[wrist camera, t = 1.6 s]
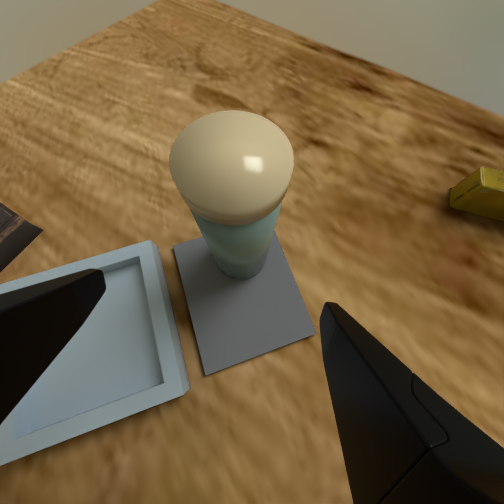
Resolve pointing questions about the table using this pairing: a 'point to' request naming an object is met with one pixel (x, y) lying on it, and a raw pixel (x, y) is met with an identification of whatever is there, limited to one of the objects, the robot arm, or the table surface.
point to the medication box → (480, 193)
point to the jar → (233, 185)
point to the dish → (103, 356)
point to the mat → (240, 306)
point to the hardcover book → (14, 235)
